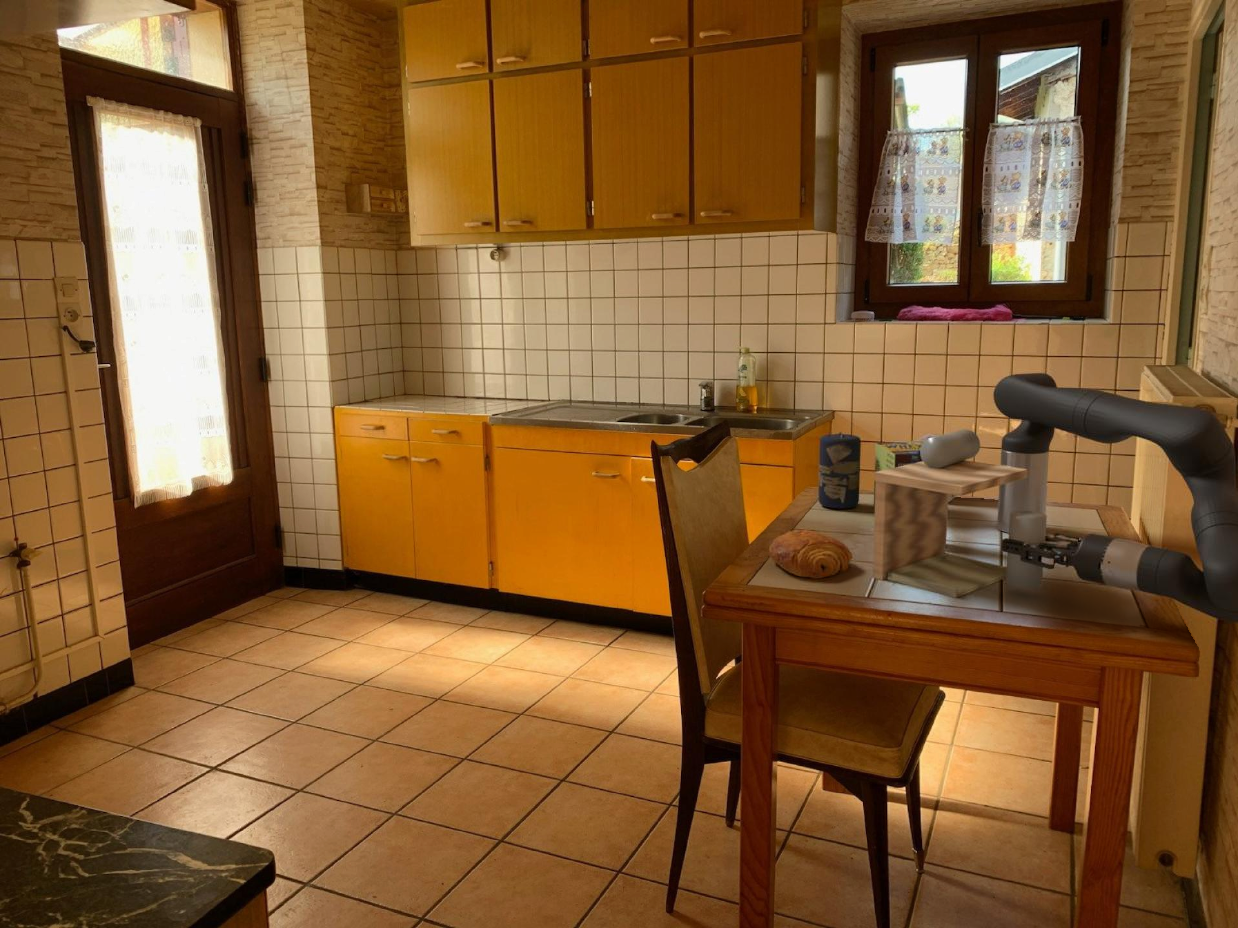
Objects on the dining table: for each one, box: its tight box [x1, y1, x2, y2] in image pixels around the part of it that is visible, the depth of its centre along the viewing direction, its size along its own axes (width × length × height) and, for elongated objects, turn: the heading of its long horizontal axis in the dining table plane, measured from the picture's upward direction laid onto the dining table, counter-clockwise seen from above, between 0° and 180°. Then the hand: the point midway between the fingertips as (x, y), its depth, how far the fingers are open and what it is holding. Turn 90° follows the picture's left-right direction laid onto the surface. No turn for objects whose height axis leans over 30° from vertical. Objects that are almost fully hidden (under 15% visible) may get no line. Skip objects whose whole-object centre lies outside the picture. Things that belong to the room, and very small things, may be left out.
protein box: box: [873, 442, 922, 508], centre depth 214 cm, size 10×15×16 cm
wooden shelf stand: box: [872, 460, 1027, 598], centre depth 168 cm, size 21×17×20 cm
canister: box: [817, 431, 862, 509], centre depth 222 cm, size 10×10×18 cm
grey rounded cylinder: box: [1005, 511, 1048, 590], centre depth 157 cm, size 6×6×12 cm
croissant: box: [768, 529, 853, 579], centre depth 176 cm, size 14×16×8 cm
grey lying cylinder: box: [920, 429, 981, 468], centre depth 172 cm, size 6×6×12 cm
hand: (1012, 541), depth 158 cm, fingers closed on grey rounded cylinder, 5 cm apart
